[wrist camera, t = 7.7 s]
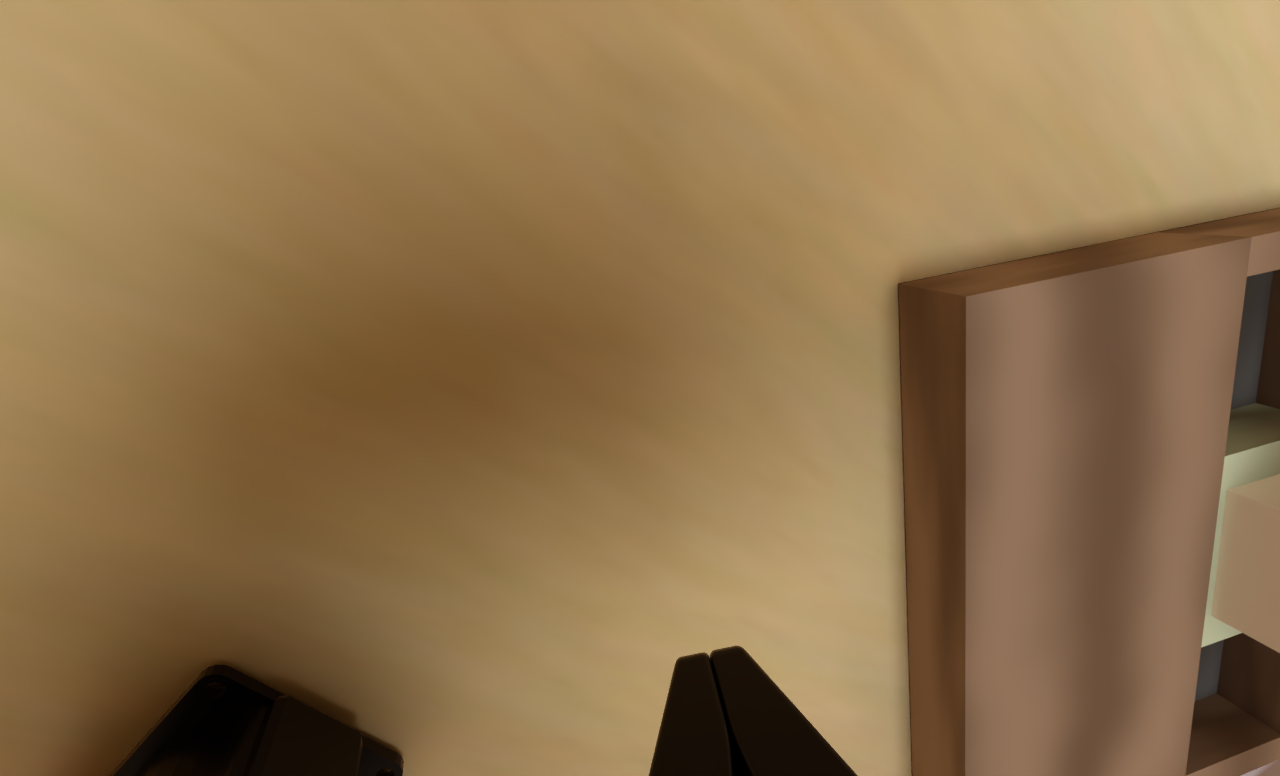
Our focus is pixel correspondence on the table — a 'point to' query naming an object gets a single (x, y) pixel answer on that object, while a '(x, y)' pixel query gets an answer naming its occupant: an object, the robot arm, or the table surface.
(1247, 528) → the block
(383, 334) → the table surface
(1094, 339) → the brown compartment tray
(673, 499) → the table surface
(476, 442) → the table surface
